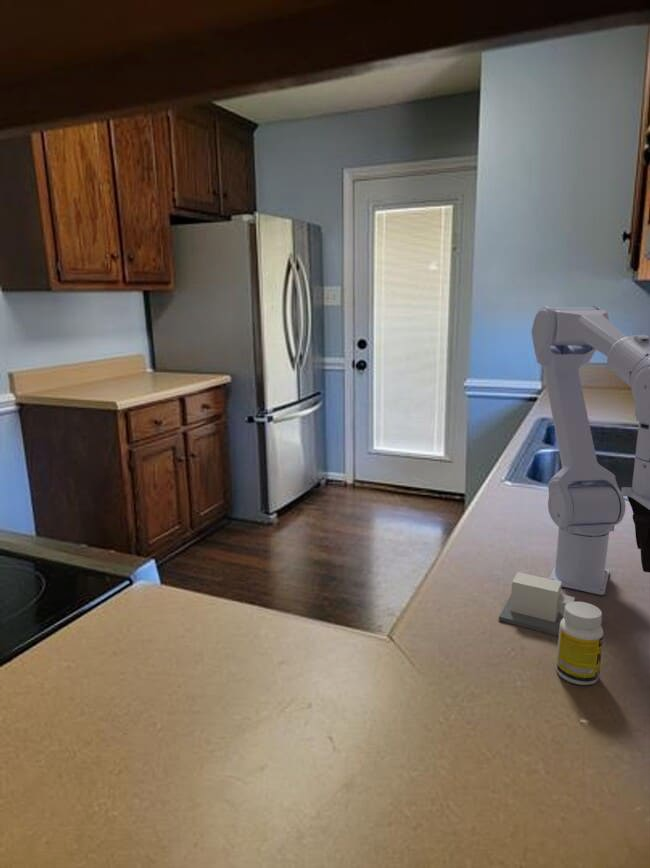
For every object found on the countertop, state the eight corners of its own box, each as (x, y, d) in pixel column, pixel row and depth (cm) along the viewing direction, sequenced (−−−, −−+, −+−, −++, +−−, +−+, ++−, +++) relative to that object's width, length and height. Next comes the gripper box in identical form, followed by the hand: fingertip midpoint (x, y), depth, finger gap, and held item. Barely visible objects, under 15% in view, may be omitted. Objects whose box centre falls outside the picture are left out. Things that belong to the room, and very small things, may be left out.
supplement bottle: (603, 689, 67) (610, 622, 65) (559, 684, 68) (565, 618, 66) (593, 664, 71) (599, 601, 69) (552, 659, 72) (557, 597, 70)
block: (515, 600, 85) (517, 572, 84) (573, 614, 81) (576, 584, 80) (510, 611, 82) (512, 581, 81) (569, 626, 78) (572, 595, 78)
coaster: (512, 596, 88) (512, 592, 88) (568, 609, 84) (569, 605, 84) (498, 620, 81) (499, 616, 81) (560, 636, 77) (560, 632, 77)
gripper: (621, 443, 81) (612, 535, 84) (629, 469, 68) (617, 577, 71) (680, 448, 78) (668, 543, 81) (700, 476, 65) (685, 588, 68)
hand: (649, 560), depth 76 cm, fingers open, 7 cm apart
